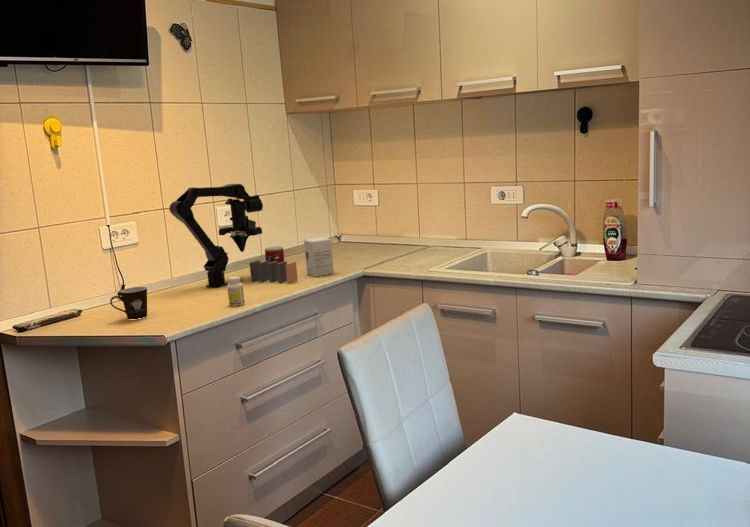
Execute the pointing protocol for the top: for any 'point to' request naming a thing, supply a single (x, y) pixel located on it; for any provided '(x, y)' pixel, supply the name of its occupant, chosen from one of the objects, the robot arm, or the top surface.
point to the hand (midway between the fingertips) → (242, 251)
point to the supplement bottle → (235, 291)
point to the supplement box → (318, 256)
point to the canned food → (274, 254)
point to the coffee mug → (133, 302)
